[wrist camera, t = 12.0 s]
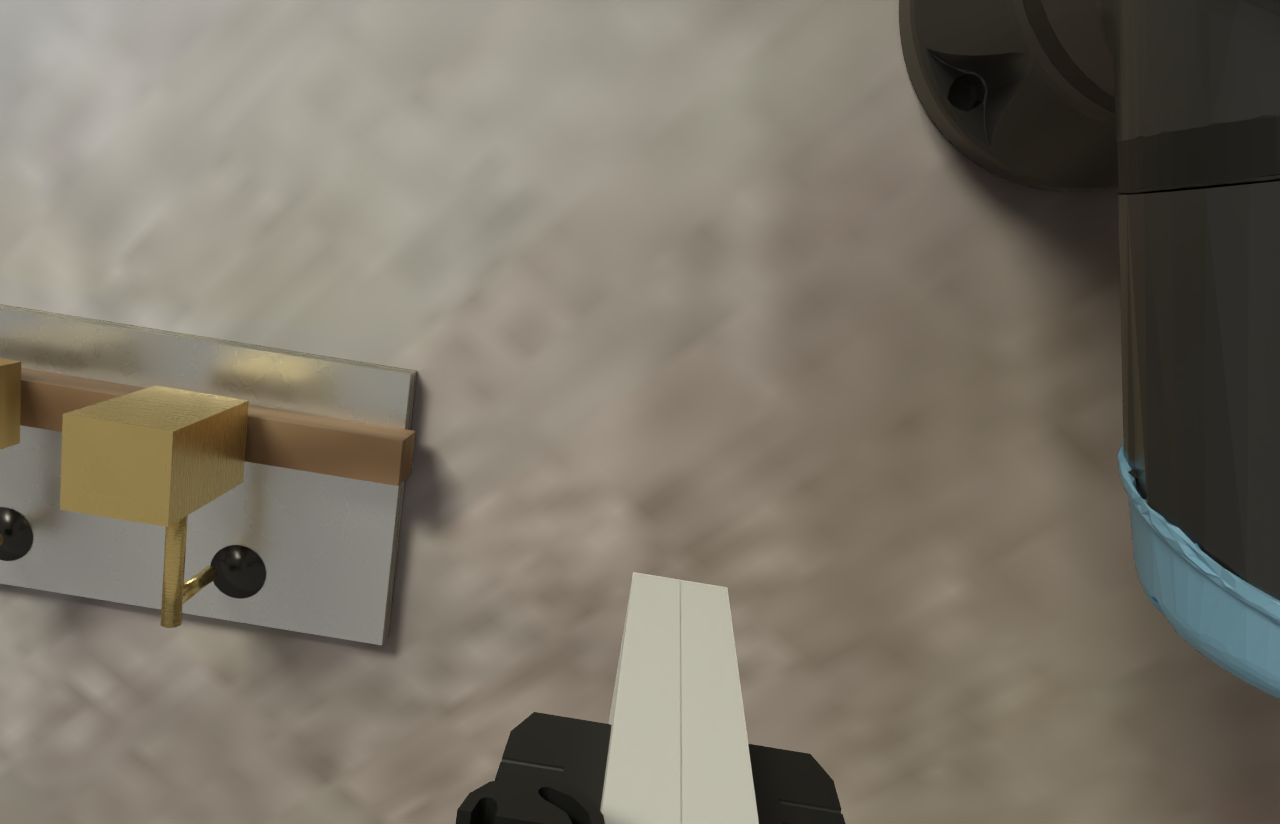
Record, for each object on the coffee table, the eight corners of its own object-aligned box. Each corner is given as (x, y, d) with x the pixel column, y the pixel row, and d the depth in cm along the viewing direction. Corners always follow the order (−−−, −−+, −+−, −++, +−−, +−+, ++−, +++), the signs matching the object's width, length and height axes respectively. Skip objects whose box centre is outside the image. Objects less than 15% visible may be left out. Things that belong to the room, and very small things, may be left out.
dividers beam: (-47, 339, 42) (-215, 366, 34) (417, 413, 41) (356, 457, 34) (-48, 545, 44) (-207, 616, 36) (395, 617, 43) (333, 704, 36)
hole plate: (-41, 297, 42) (-59, 299, 41) (416, 370, 42) (410, 374, 41) (-43, 566, 45) (-60, 574, 44) (388, 636, 45) (381, 646, 44)
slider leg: (177, 378, 41) (62, 413, 33) (267, 392, 41) (173, 431, 33) (166, 586, 43) (55, 665, 35) (252, 600, 43) (159, 681, 35)
